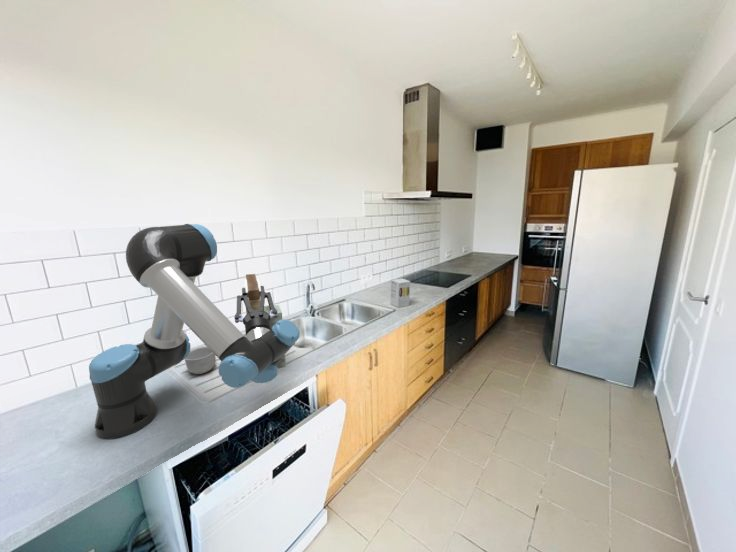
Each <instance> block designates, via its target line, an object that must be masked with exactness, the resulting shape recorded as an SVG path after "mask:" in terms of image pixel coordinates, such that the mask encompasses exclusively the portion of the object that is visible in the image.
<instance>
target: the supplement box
mask: <svg viewBox="0 0 736 552" xmlns="http://www.w3.org/2000/svg"><path fill="white" fill-rule="evenodd" d="M410 292H411V281H410V280H407V279H406V278H395V279H391V281H390V300H389V301H390V304H391V305H392V306H395V307H396V308H403V307H408V306H410V295H411V293H410Z"/></svg>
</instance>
